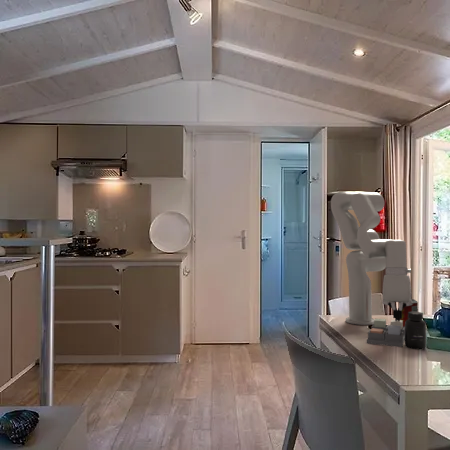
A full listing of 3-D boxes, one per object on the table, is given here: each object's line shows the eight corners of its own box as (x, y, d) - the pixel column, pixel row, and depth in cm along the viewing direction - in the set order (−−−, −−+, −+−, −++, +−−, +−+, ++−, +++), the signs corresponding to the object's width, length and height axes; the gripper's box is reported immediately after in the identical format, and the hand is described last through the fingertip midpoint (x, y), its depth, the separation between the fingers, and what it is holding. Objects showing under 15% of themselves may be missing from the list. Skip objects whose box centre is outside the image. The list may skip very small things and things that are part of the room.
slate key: (389, 331, 161) (389, 324, 161) (400, 332, 159) (400, 325, 159) (388, 334, 157) (387, 327, 157) (399, 335, 156) (399, 328, 156)
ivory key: (391, 326, 170) (391, 319, 170) (402, 327, 168) (402, 320, 168) (390, 328, 166) (390, 321, 166) (401, 329, 165) (401, 322, 165)
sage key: (375, 324, 173) (375, 318, 173) (386, 325, 171) (386, 319, 171) (374, 326, 169) (374, 320, 169) (385, 327, 167) (385, 321, 167)
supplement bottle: (417, 350, 148) (416, 315, 148) (400, 345, 154) (400, 311, 154) (430, 347, 151) (430, 313, 151) (413, 343, 157) (413, 310, 157)
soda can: (421, 330, 177) (421, 299, 177) (412, 332, 172) (412, 301, 172) (405, 327, 182) (404, 297, 182) (396, 329, 178) (395, 299, 178)
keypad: (373, 331, 176) (373, 322, 176) (406, 334, 170) (406, 325, 170) (366, 343, 158) (366, 333, 158) (402, 346, 152) (402, 337, 152)
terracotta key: (372, 334, 164) (372, 328, 164) (383, 335, 162) (383, 329, 162) (370, 337, 160) (370, 330, 160) (382, 338, 158) (382, 331, 158)
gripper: (418, 271, 167) (419, 319, 167) (376, 271, 174) (378, 317, 173) (417, 273, 161) (418, 323, 160) (374, 272, 167) (375, 320, 166)
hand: (397, 320), depth 167 cm, fingers closed
